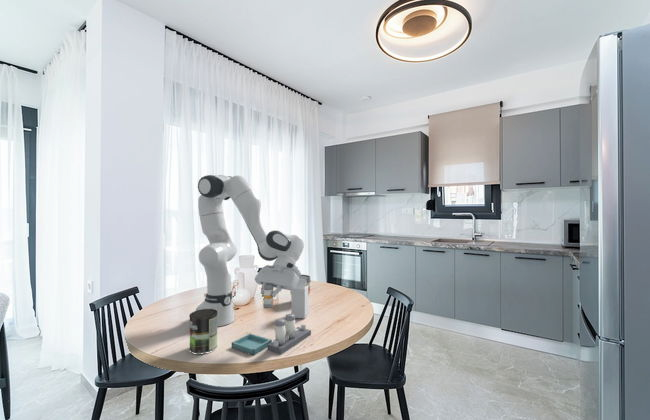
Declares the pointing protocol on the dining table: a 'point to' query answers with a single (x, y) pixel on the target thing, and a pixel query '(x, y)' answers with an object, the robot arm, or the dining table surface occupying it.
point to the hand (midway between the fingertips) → (267, 295)
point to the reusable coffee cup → (307, 281)
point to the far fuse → (280, 331)
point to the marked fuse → (268, 296)
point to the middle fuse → (290, 325)
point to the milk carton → (300, 299)
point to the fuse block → (290, 340)
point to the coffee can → (203, 331)
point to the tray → (251, 344)
